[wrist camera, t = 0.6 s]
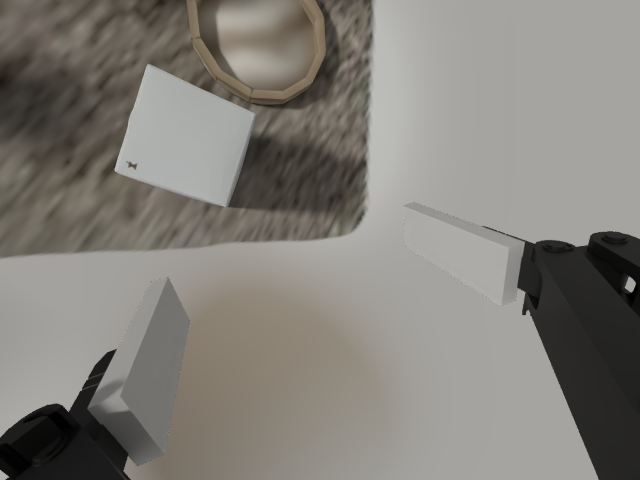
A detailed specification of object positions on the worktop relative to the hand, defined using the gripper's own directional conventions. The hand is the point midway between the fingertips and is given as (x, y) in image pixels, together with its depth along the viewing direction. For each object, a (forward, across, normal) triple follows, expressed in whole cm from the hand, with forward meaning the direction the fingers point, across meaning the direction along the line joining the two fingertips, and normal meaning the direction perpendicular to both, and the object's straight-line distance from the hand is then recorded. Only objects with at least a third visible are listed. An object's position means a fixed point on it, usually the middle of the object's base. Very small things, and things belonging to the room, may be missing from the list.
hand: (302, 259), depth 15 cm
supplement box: (+27, -6, +4) cm, 28 cm away
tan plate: (+31, +6, +18) cm, 36 cm away
